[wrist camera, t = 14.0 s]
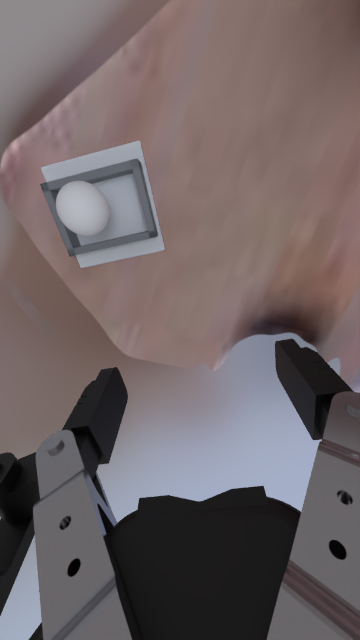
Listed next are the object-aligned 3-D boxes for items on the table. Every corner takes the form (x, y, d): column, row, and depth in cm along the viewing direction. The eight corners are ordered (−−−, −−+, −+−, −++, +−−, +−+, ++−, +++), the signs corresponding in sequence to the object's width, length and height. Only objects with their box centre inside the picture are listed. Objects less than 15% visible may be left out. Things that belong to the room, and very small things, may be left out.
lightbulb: (132, 214, 36) (111, 216, 26) (103, 238, 37) (74, 249, 27) (104, 177, 33) (71, 163, 24) (76, 204, 35) (33, 202, 25)
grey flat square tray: (140, 141, 32) (135, 133, 29) (165, 249, 38) (163, 253, 35) (42, 167, 33) (27, 163, 30) (81, 267, 40) (73, 272, 37)
